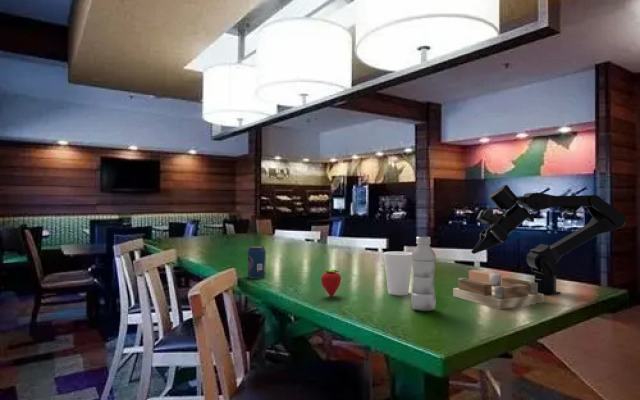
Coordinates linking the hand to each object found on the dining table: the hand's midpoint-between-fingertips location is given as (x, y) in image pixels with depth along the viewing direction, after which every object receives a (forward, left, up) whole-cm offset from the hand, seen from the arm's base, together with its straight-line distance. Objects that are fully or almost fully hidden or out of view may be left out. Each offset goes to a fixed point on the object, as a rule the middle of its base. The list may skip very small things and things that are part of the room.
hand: (474, 252), depth 139 cm
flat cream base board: (+2, +11, -13) cm, 17 cm away
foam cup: (+24, -9, -13) cm, 29 cm away
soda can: (+57, -57, -13) cm, 82 cm away
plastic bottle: (+31, +12, -13) cm, 36 cm away
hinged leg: (-5, 0, -10) cm, 12 cm away
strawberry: (+46, -14, -13) cm, 50 cm away
